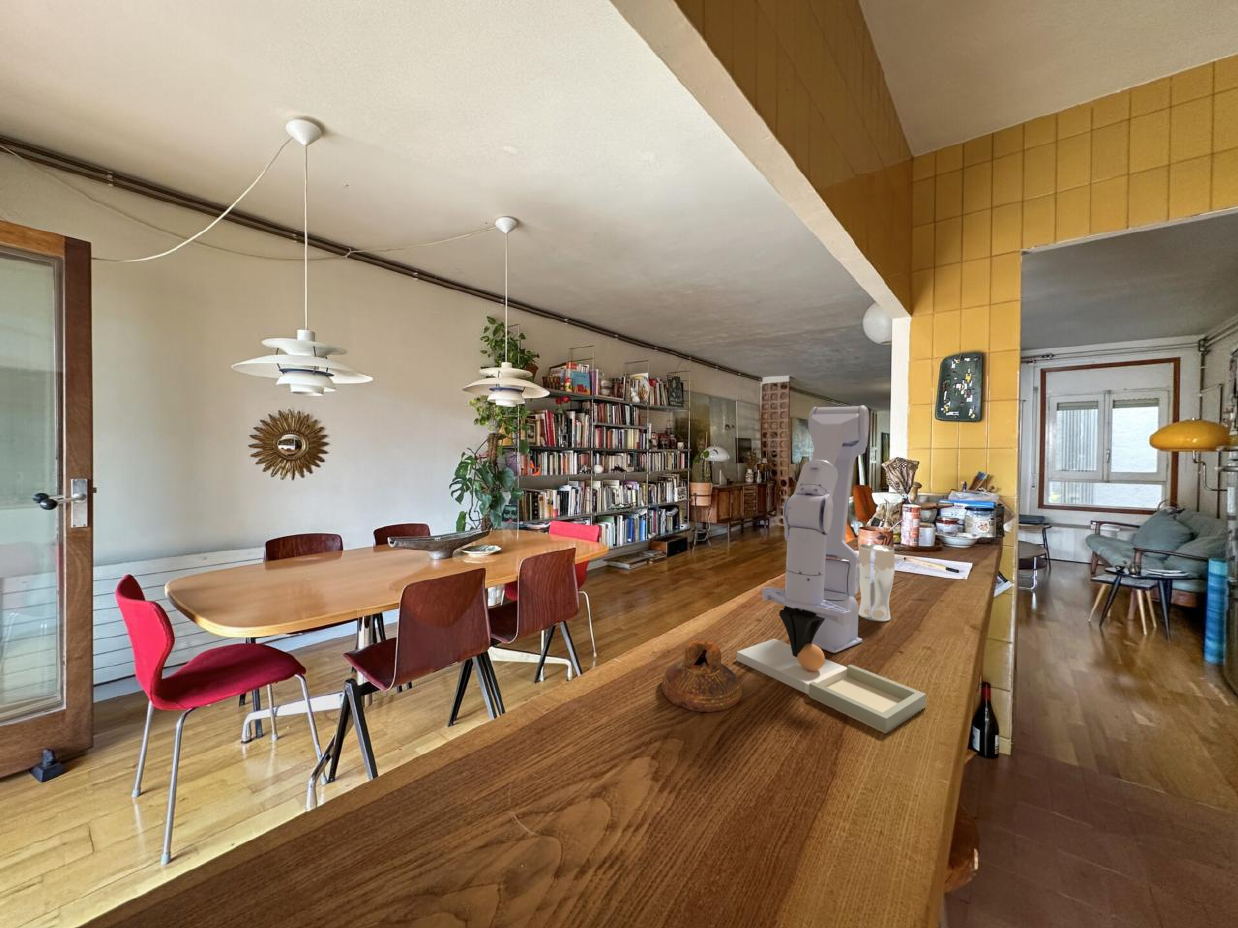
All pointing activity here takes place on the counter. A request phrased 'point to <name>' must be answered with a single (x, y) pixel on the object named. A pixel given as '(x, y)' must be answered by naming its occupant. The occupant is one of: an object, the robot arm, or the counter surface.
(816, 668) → the ball
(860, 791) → the counter surface
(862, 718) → the tray
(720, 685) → the bell
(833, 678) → the plate
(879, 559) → the beer glass
